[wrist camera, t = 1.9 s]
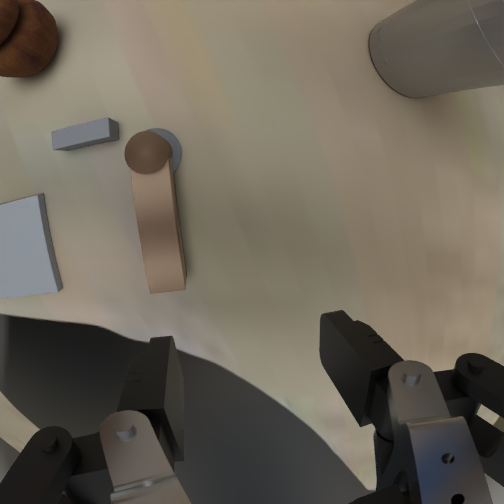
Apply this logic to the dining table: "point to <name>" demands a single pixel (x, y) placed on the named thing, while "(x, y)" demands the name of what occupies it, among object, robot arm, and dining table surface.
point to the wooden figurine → (25, 37)
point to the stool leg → (157, 211)
